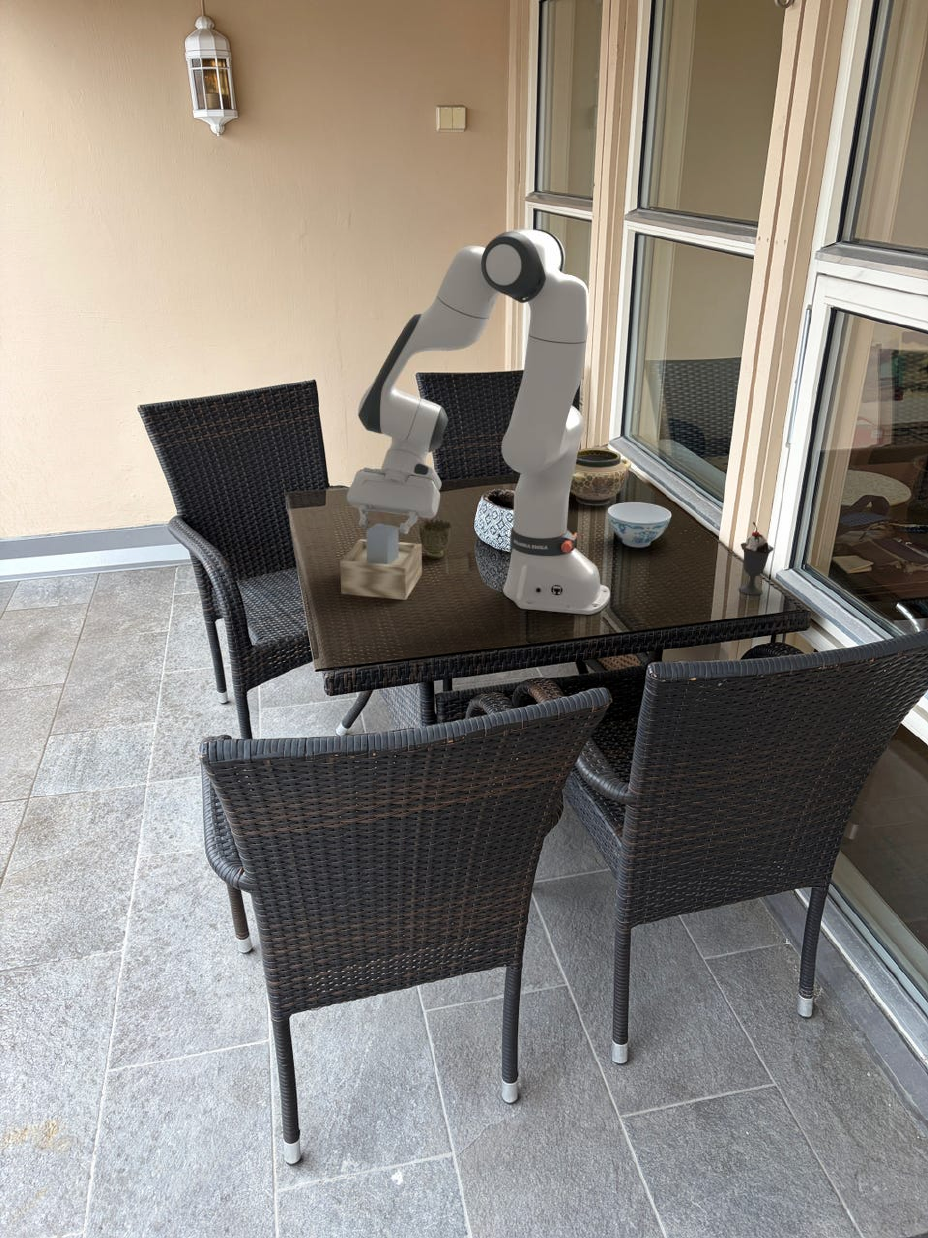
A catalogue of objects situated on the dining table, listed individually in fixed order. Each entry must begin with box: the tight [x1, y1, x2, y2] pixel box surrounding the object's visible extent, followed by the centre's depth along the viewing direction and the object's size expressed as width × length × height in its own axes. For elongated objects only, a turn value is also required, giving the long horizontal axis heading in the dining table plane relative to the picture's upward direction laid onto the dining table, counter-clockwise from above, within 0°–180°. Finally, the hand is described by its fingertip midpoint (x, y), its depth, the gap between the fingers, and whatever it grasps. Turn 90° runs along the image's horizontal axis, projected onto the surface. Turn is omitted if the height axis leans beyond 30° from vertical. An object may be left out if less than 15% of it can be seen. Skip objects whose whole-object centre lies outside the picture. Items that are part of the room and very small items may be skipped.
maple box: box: [339, 538, 423, 601], centre depth 200 cm, size 14×14×8 cm
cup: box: [418, 518, 452, 560], centre depth 214 cm, size 8×7×8 cm
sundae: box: [738, 521, 775, 596], centre depth 197 cm, size 7×7×15 cm
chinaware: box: [607, 501, 672, 548], centre depth 224 cm, size 15×15×8 cm
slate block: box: [365, 523, 399, 564], centre depth 197 cm, size 5×5×7 cm
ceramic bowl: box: [569, 447, 632, 506], centre depth 251 cm, size 24×18×15 cm
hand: (382, 529), depth 196 cm, fingers open, 8 cm apart
